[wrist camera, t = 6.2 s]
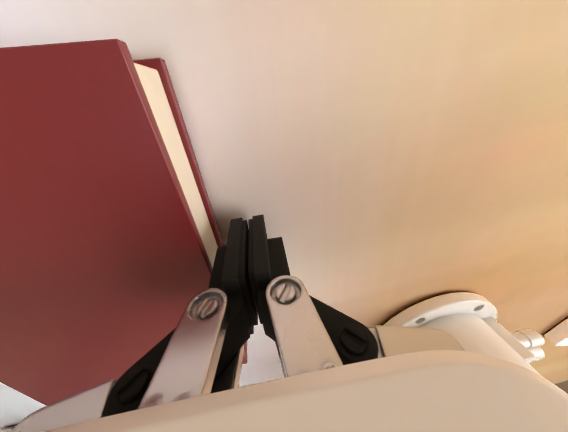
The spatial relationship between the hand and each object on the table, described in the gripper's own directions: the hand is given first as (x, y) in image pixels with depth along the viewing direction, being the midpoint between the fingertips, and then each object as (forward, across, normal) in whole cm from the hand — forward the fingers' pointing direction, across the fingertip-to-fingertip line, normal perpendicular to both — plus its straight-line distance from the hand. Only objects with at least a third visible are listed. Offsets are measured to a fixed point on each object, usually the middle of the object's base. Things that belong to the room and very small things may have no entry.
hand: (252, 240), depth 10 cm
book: (+1, +8, 0) cm, 8 cm away
